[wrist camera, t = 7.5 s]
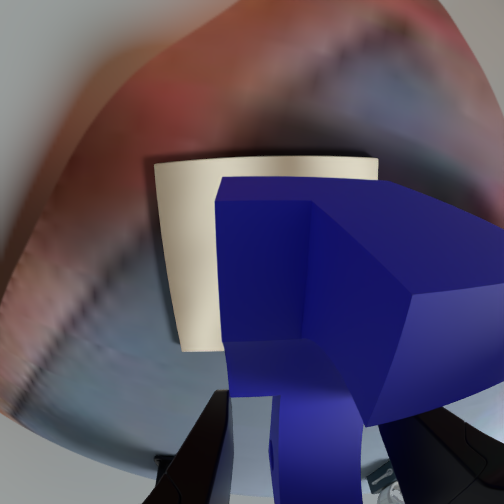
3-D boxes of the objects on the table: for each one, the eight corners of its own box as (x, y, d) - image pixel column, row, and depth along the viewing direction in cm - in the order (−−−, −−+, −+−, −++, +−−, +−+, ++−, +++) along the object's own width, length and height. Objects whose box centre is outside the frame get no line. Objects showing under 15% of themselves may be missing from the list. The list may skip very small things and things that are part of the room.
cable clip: (222, 176, 7) (183, 305, 2) (388, 181, 8) (574, 270, 2) (236, 452, 12) (241, 565, 6) (330, 443, 12) (358, 548, 6)
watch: (384, 457, 29) (408, 524, 19) (418, 456, 30) (442, 512, 20) (356, 477, 30) (374, 540, 20) (392, 476, 32) (411, 530, 22)
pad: (183, 346, 20) (182, 351, 19) (156, 163, 15) (153, 164, 15) (355, 333, 20) (357, 338, 19) (373, 157, 16) (378, 158, 15)
